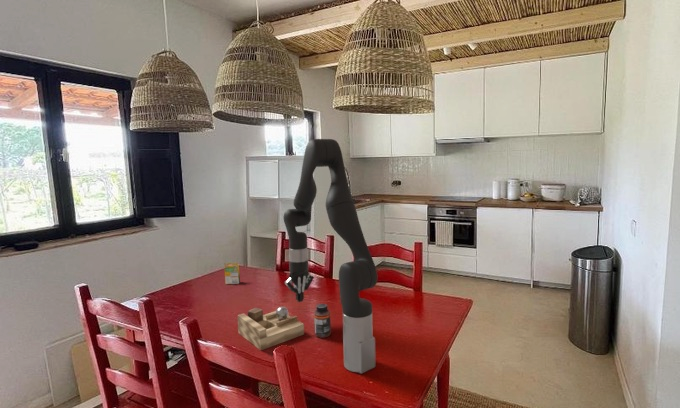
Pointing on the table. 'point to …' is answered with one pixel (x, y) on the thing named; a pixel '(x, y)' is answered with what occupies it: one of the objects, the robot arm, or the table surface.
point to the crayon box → (232, 273)
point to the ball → (281, 313)
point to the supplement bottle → (322, 321)
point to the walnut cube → (256, 314)
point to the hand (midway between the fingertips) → (299, 301)
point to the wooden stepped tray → (269, 330)
